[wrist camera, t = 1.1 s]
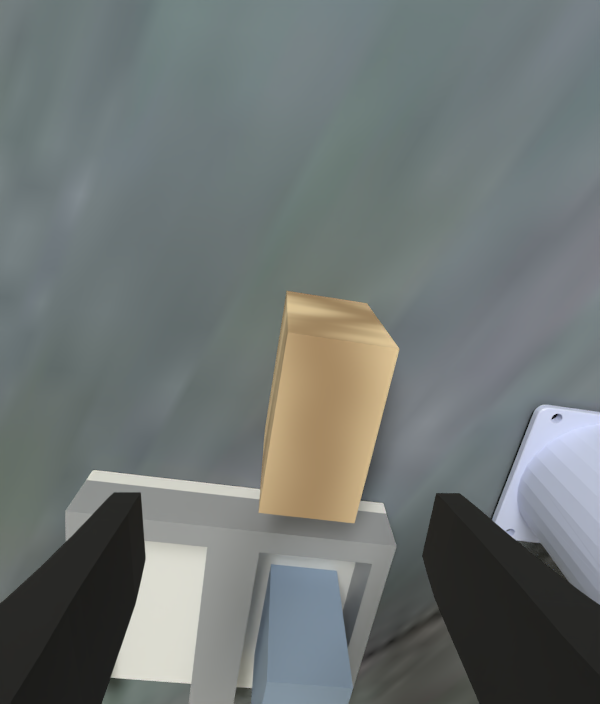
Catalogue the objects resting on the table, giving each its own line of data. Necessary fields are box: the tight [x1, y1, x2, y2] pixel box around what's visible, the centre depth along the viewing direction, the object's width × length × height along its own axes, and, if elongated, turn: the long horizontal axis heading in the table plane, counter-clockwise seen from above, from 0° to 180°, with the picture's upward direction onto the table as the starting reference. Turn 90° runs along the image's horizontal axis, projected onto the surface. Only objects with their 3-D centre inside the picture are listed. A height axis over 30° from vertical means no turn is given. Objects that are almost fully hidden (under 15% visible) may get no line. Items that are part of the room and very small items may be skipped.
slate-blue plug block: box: [251, 564, 353, 704], centre depth 22 cm, size 4×7×6 cm, turn 171°
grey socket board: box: [65, 470, 397, 704], centre depth 24 cm, size 15×14×3 cm
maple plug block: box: [258, 291, 399, 523], centre depth 18 cm, size 4×7×6 cm, turn 170°
